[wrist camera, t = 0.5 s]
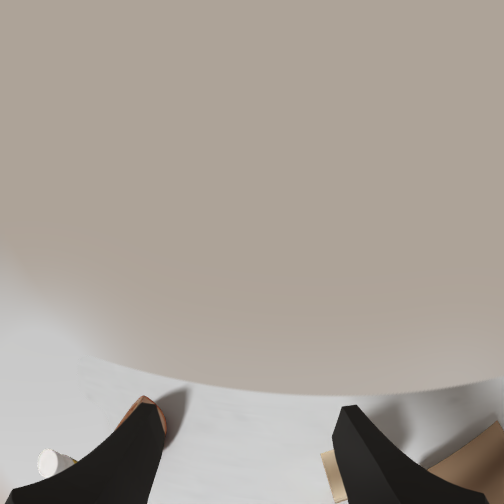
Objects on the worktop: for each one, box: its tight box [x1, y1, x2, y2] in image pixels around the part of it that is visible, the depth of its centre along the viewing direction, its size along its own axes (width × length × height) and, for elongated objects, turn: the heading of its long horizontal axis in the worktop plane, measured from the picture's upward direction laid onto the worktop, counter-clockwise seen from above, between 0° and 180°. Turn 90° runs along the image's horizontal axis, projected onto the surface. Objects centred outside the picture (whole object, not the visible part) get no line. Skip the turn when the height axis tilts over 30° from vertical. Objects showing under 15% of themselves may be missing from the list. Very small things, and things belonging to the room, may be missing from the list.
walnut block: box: [427, 421, 504, 504], centre depth 11 cm, size 10×10×3 cm
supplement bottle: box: [38, 449, 78, 478], centre depth 18 cm, size 5×5×8 cm
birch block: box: [321, 450, 348, 504], centre depth 17 cm, size 4×4×6 cm
